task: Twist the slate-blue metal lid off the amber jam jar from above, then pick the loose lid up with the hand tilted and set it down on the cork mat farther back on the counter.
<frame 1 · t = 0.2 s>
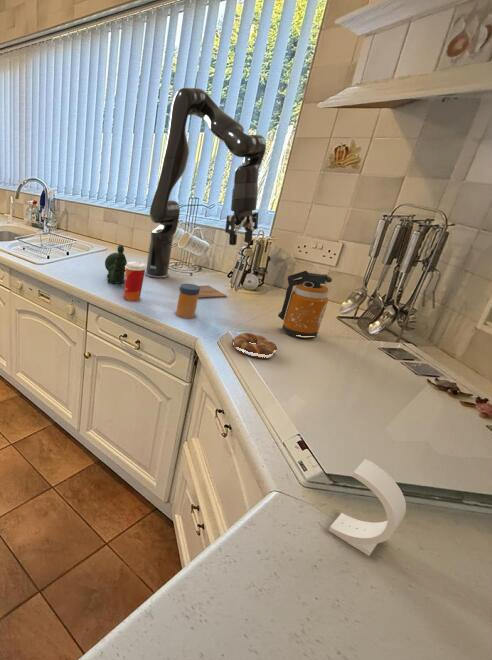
hand: (240, 243, 140), 23 cm above the countertop, tool pointing down, fingers open, 8 cm apart
lid: (189, 287, 134), point 10 cm above the countertop, screwed on, not yet turned
headphone stand: (357, 538, 60), on the countertop
canister: (294, 333, 124), on the countertop
pretzel: (251, 350, 114), on the countertop
toy figurine: (115, 280, 174), on the countertop
jar: (185, 314, 138), on the countertop
paper cup: (131, 299, 153), on the countertop
mat: (202, 292, 158), on the countertop
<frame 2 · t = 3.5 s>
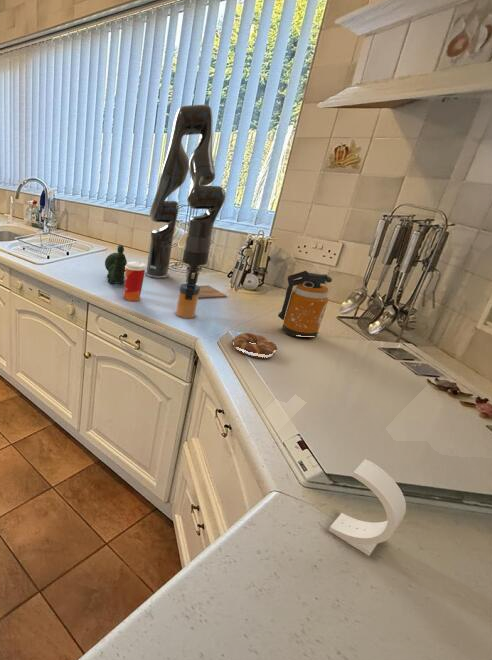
hand: (188, 296, 136), 7 cm above the countertop, tool pointing down, fingers closed on lid, 6 cm apart
lid: (189, 287, 134), point 10 cm above the countertop, screwed on, not yet turned, touching gripper
everything else where it was.
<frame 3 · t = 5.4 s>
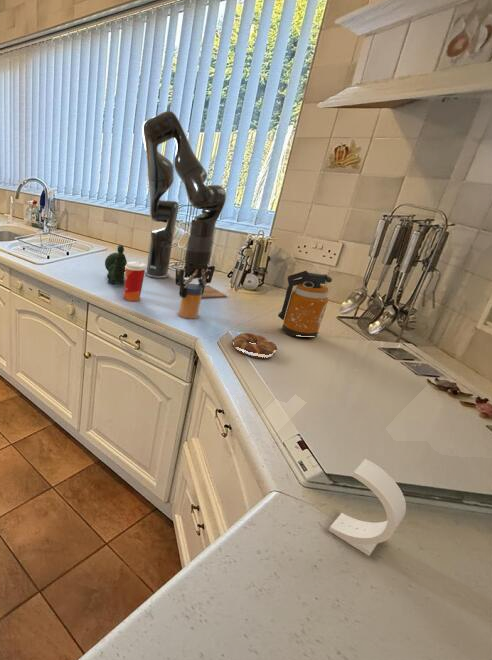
hand: (190, 295, 135), 7 cm above the countertop, tool pointing down, fingers closed on lid, 6 cm apart
lid: (192, 287, 134), point 10 cm above the countertop, off its thread, touching gripper
jar: (188, 315, 138), on the countertop, touching gripper
everything else where it was.
when the fingers open (7 cm above the countertop, at t = 5.8 s): lid stays where it is, resting on jar.
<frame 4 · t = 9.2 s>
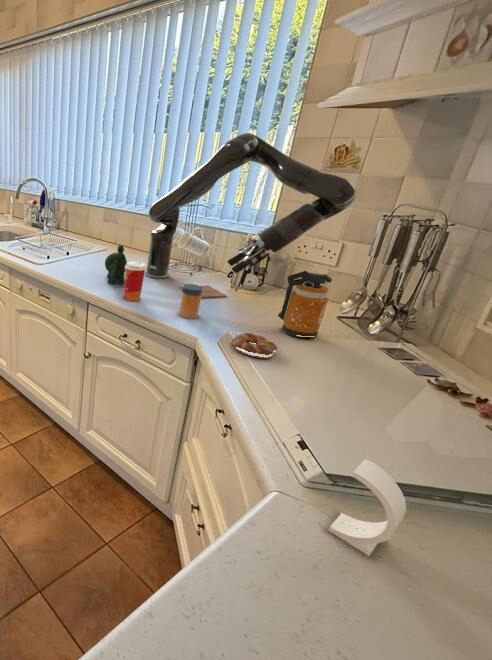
hand: (231, 267, 128), 19 cm above the countertop, tool tilted 45°, fingers open, 8 cm apart
lid: (192, 288, 134), point 10 cm above the countertop, off its thread, touching jar
jar: (188, 315, 138), on the countertop, touching lid
everything else where it was.
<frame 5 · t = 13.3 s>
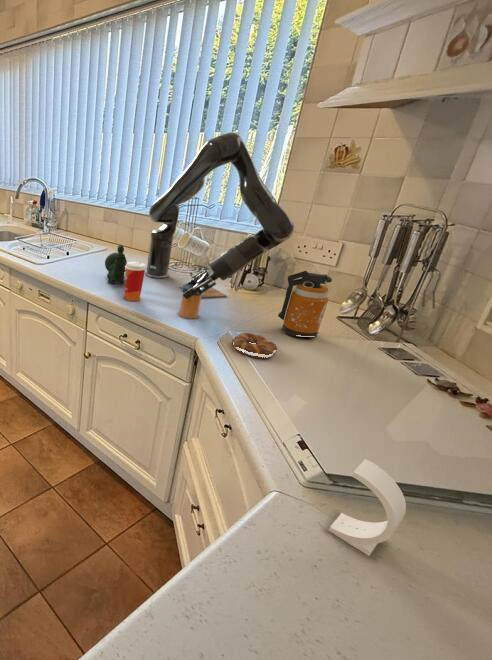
hand: (183, 293, 136), 8 cm above the countertop, tool tilted 45°, fingers closed on lid, 6 cm apart
lid: (192, 288, 134), point 10 cm above the countertop, off its thread, touching gripper, jar
everything else where it was.
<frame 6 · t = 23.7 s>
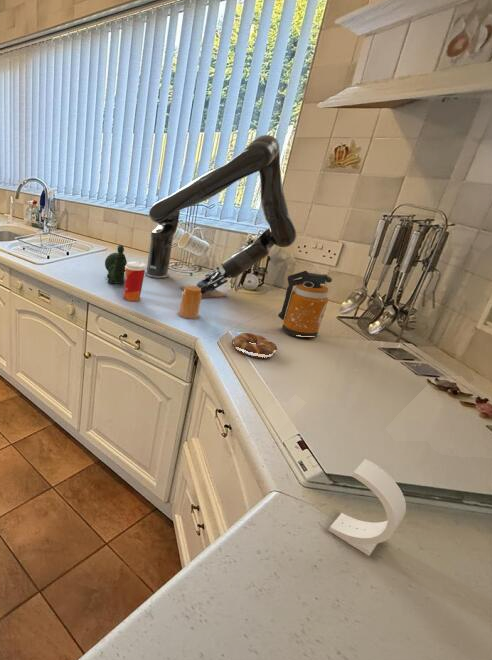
hand: (199, 289, 158), 1 cm above the countertop, tool tilted 45°, fingers closed on lid, 6 cm apart
lid: (206, 284, 157), point 3 cm above the countertop, off its thread, touching gripper
jar: (188, 315, 138), on the countertop
everything else where it was.
when the fingers open (5 cm above the countertop, at t = 48.7 s): lid drops 5 cm, resting on mat.
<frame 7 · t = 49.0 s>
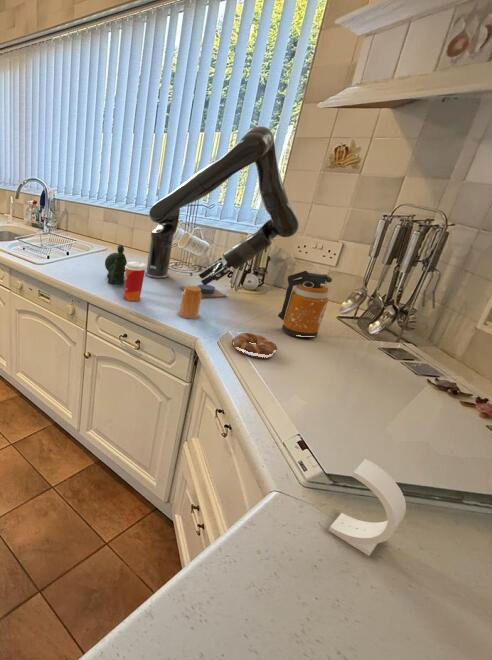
hand: (201, 280, 157), 5 cm above the countertop, tool tilted 45°, fingers open, 8 cm apart
lid: (206, 287, 157), point 2 cm above the countertop, off its thread, touching mat
everything else where it was.
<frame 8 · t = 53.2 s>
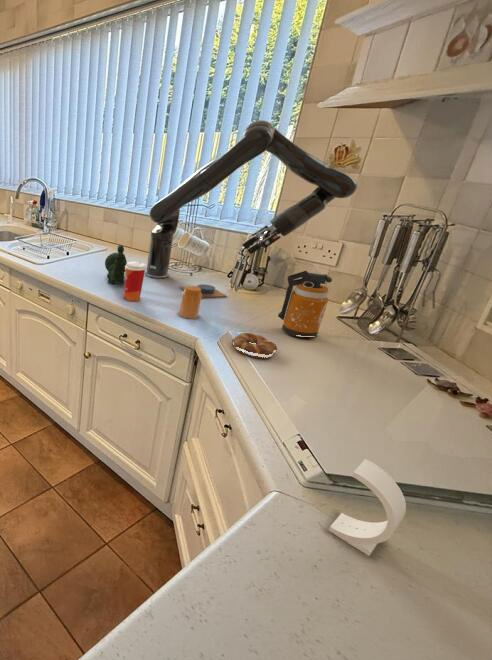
hand: (246, 249, 148), 19 cm above the countertop, tool tilted 45°, fingers open, 8 cm apart
nothing on the countertop moved.
at the end: the gripper is holding nothing; lid point 2.1 cm above the countertop; lid inside the target area on the mat (0.8 cm from its centre), point 2.1 cm above the mat's base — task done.
